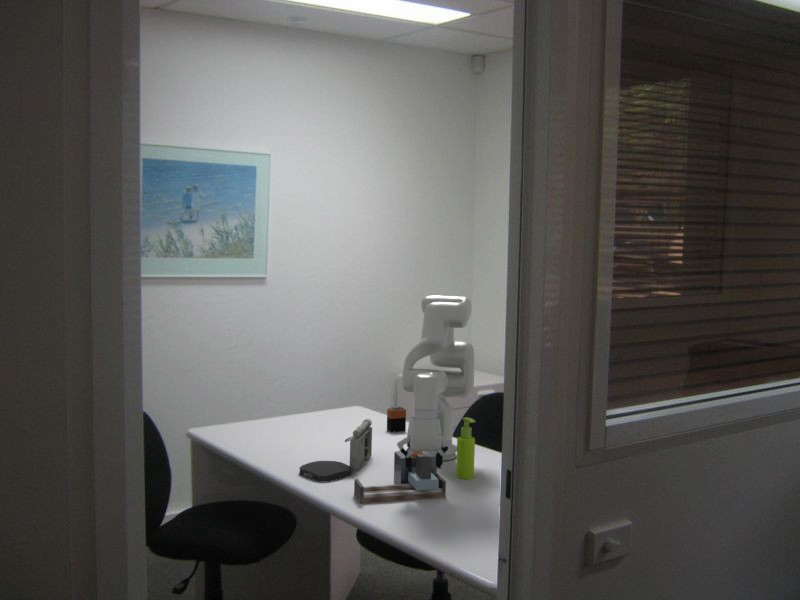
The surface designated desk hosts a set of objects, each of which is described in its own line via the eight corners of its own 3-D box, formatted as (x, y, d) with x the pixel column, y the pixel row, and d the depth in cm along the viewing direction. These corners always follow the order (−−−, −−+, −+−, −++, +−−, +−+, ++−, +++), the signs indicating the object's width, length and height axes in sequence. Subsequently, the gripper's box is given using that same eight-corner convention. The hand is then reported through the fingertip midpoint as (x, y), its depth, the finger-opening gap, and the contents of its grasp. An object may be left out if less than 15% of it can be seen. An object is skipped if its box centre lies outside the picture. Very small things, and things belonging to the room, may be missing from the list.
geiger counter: (361, 431, 271) (378, 415, 295) (343, 430, 272) (361, 413, 296) (360, 472, 272) (377, 452, 296) (342, 470, 273) (360, 451, 298)
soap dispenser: (463, 480, 265) (465, 421, 263) (452, 475, 271) (454, 416, 269) (478, 478, 268) (480, 419, 266) (467, 472, 274) (469, 415, 272)
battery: (405, 431, 328) (406, 407, 327) (390, 432, 325) (391, 408, 324) (401, 428, 332) (401, 404, 331) (386, 430, 329) (386, 406, 328)
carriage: (429, 480, 255) (430, 452, 255) (438, 489, 247) (439, 460, 246) (408, 481, 253) (408, 453, 253) (416, 490, 245) (417, 461, 244)
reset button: (420, 458, 262) (420, 445, 262) (424, 462, 258) (424, 449, 258) (407, 459, 261) (407, 446, 261) (411, 462, 257) (411, 450, 256)
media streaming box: (356, 475, 269) (356, 466, 269) (322, 484, 259) (322, 475, 259) (328, 465, 279) (329, 457, 279) (294, 473, 269) (294, 465, 269)
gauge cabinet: (428, 479, 266) (429, 449, 265) (437, 487, 257) (437, 456, 257) (393, 481, 262) (394, 451, 261) (401, 489, 254) (401, 458, 253)
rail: (437, 488, 256) (437, 473, 255) (445, 497, 248) (445, 481, 248) (354, 494, 248) (354, 479, 248) (360, 503, 241) (360, 487, 240)
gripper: (447, 410, 254) (446, 463, 256) (394, 412, 249) (393, 466, 251) (455, 415, 247) (454, 470, 249) (401, 417, 242) (400, 473, 244)
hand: (423, 468), depth 250 cm, fingers open, 9 cm apart
